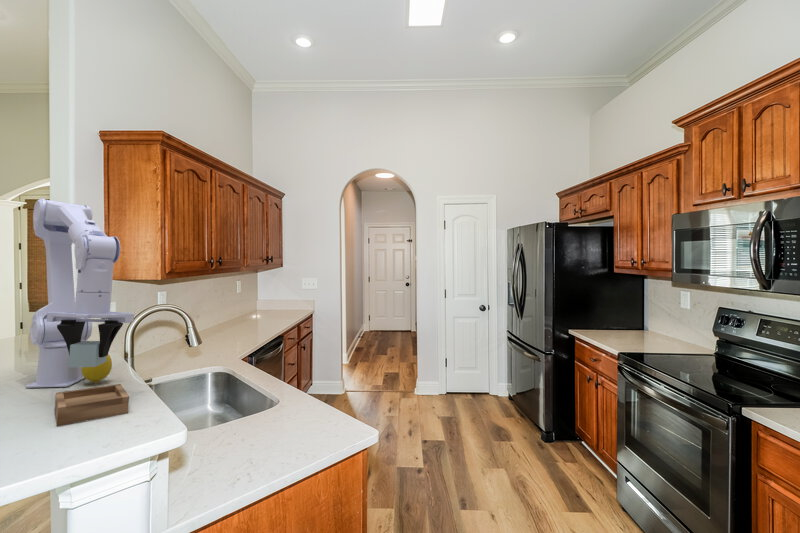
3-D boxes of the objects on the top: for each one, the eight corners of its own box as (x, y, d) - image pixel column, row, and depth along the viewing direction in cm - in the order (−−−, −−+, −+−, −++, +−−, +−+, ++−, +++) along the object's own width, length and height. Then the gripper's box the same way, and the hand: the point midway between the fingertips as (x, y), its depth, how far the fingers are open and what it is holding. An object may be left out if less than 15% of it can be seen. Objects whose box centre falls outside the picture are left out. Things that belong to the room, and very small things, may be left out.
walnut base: (54, 409, 69) (55, 392, 69) (119, 398, 76) (120, 383, 76) (56, 426, 62) (58, 407, 62) (127, 413, 69) (129, 396, 69)
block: (81, 361, 76) (83, 340, 76) (106, 361, 78) (107, 340, 78) (68, 367, 72) (70, 344, 72) (94, 366, 73) (96, 344, 73)
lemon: (92, 388, 82) (95, 353, 82) (73, 385, 83) (76, 350, 83) (116, 381, 87) (119, 348, 88) (98, 379, 89) (100, 346, 89)
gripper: (38, 291, 70) (32, 361, 69) (125, 294, 74) (120, 360, 73) (61, 289, 76) (56, 353, 76) (140, 292, 80) (135, 353, 80)
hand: (88, 356), depth 75 cm, fingers closed on block, 4 cm apart
